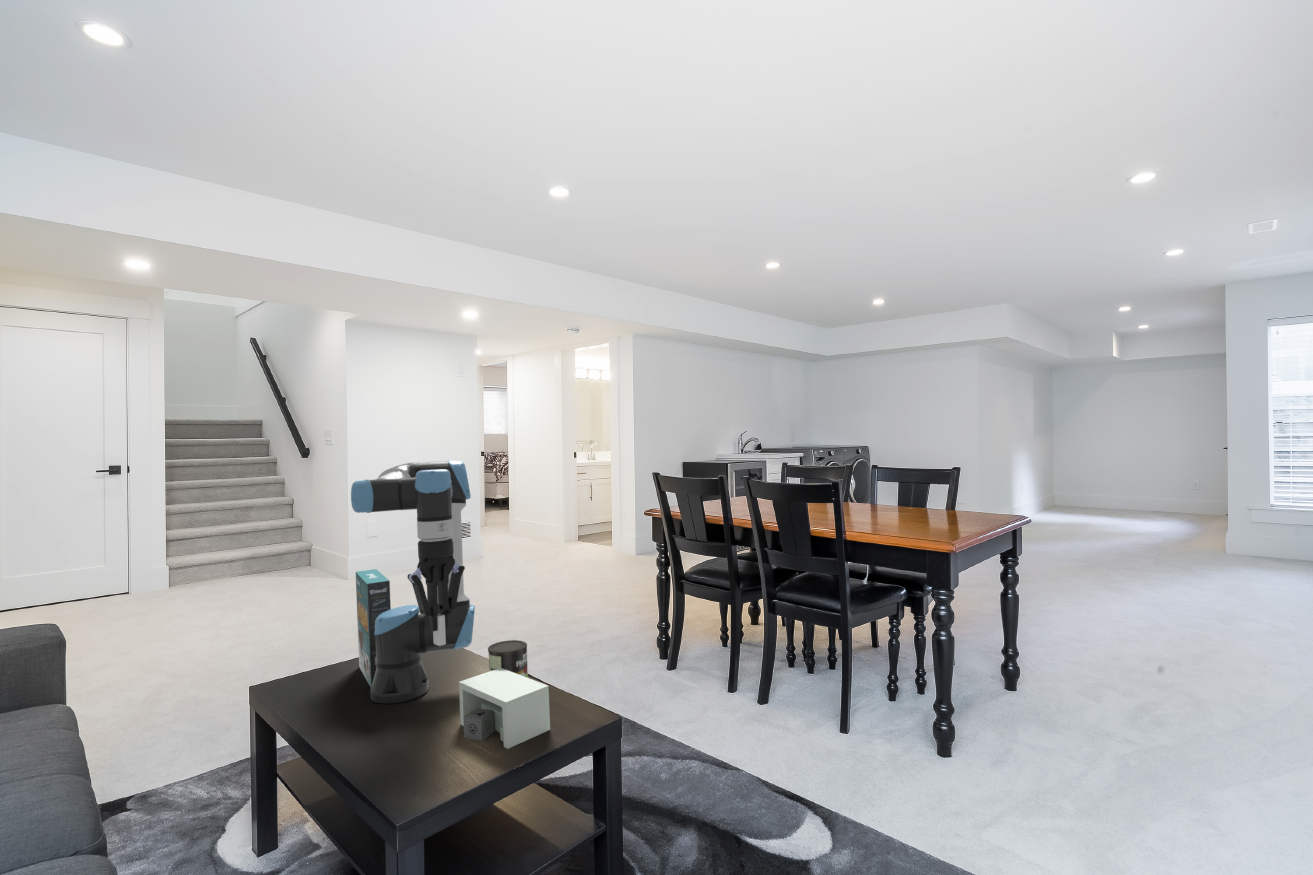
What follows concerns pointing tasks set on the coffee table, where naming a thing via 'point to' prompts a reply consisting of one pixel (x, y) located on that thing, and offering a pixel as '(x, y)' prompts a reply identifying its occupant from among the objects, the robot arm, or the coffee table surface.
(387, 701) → the robot arm
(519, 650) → the coffee can
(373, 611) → the cake mix box
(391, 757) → the coffee table surface
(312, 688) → the coffee table surface
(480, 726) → the dice cube
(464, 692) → the shelf
